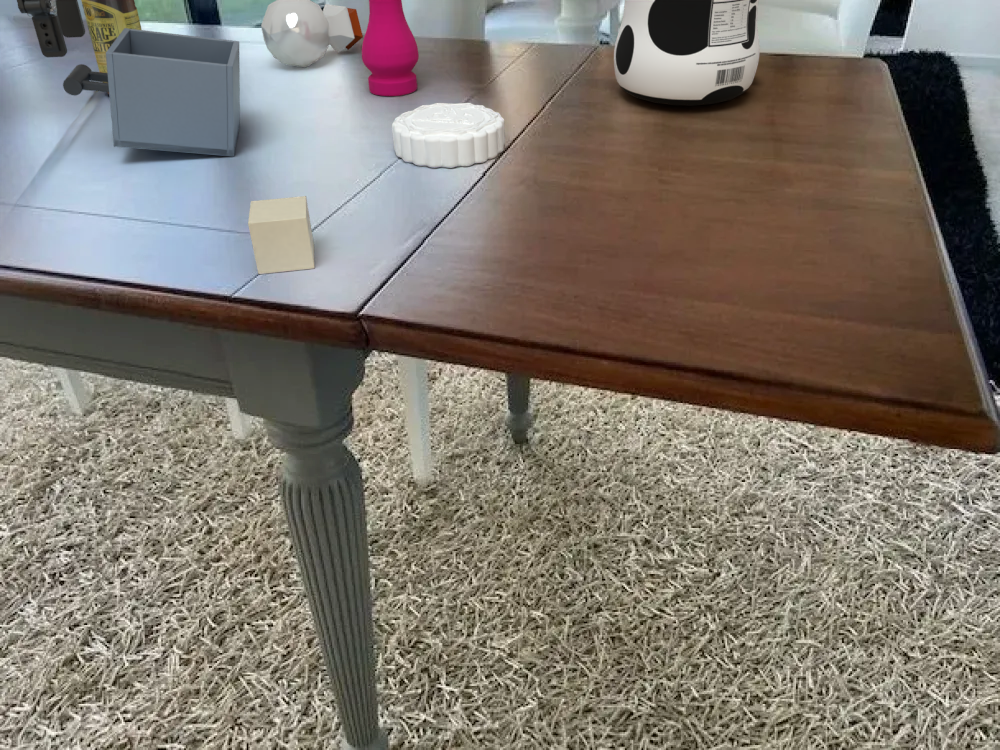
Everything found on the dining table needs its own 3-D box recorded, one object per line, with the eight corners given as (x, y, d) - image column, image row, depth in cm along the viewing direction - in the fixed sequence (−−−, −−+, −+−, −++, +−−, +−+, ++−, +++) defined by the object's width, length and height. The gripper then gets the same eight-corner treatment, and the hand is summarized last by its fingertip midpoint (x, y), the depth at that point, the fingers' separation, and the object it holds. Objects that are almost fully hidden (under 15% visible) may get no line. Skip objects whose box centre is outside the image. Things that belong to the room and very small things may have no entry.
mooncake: (516, 134, 96) (515, 101, 94) (489, 172, 86) (488, 138, 84) (415, 127, 98) (412, 96, 96) (377, 164, 89) (374, 130, 87)
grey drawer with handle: (62, 142, 88) (50, 46, 83) (84, 110, 97) (75, 22, 92) (233, 156, 92) (232, 66, 87) (239, 124, 101) (239, 41, 96)
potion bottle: (267, 83, 120) (342, 71, 131) (304, 47, 113) (380, 37, 124) (236, 22, 119) (314, 15, 130) (271, -18, 112) (351, -22, 123)
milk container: (636, 70, 116) (645, -78, 106) (765, 83, 110) (789, -74, 100) (592, 107, 103) (598, -58, 93) (736, 123, 97) (759, -52, 87)
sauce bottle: (96, 95, 112) (47, -74, 101) (136, 83, 117) (94, -81, 105) (126, 102, 109) (79, -71, 98) (166, 90, 113) (126, -78, 102)
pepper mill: (376, 81, 115) (358, -87, 103) (427, 83, 113) (416, -87, 102) (357, 96, 109) (337, -80, 98) (412, 99, 108) (397, -80, 96)
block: (258, 274, 69) (247, 223, 67) (260, 250, 73) (250, 201, 70) (314, 268, 70) (306, 217, 67) (313, 245, 73) (306, 195, 71)
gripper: (-6, -141, 84) (44, 32, 93) (-56, -132, 72) (7, 65, 81) (75, -142, 85) (116, 29, 94) (39, -134, 73) (90, 61, 82)
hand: (65, 46), depth 88 cm, fingers open, 8 cm apart
